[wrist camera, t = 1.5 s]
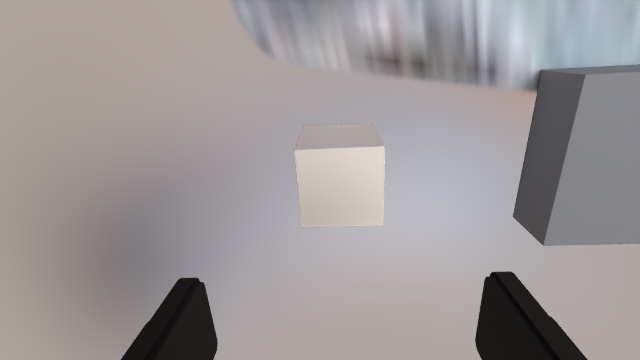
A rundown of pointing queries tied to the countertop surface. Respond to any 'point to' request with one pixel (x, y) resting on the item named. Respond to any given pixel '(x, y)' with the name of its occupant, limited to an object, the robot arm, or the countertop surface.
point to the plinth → (583, 158)
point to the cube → (340, 175)
